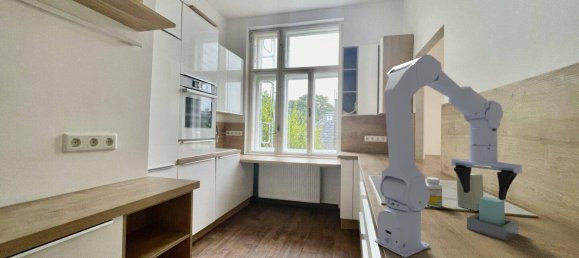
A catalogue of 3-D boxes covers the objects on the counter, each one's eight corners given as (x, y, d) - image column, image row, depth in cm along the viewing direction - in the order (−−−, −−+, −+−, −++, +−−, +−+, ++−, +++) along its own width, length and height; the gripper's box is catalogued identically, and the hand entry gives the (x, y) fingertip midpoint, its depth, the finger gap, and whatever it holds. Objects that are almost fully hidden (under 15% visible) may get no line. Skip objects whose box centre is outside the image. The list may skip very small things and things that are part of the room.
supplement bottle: (425, 201, 84) (425, 176, 85) (442, 204, 81) (442, 178, 81) (423, 205, 80) (423, 178, 80) (441, 208, 77) (441, 180, 77)
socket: (506, 241, 54) (506, 228, 54) (467, 228, 61) (466, 217, 61) (518, 233, 58) (517, 222, 58) (480, 222, 65) (479, 212, 65)
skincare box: (484, 210, 75) (484, 174, 75) (475, 211, 74) (474, 175, 74) (465, 204, 81) (464, 171, 81) (456, 205, 80) (455, 171, 80)
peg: (498, 234, 57) (498, 202, 57) (479, 228, 60) (478, 198, 60) (504, 230, 58) (504, 200, 59) (485, 225, 62) (485, 196, 62)
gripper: (526, 146, 56) (526, 200, 56) (459, 143, 68) (459, 188, 68) (515, 147, 52) (516, 205, 52) (447, 144, 65) (447, 190, 65)
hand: (483, 195), depth 60 cm, fingers open, 7 cm apart
